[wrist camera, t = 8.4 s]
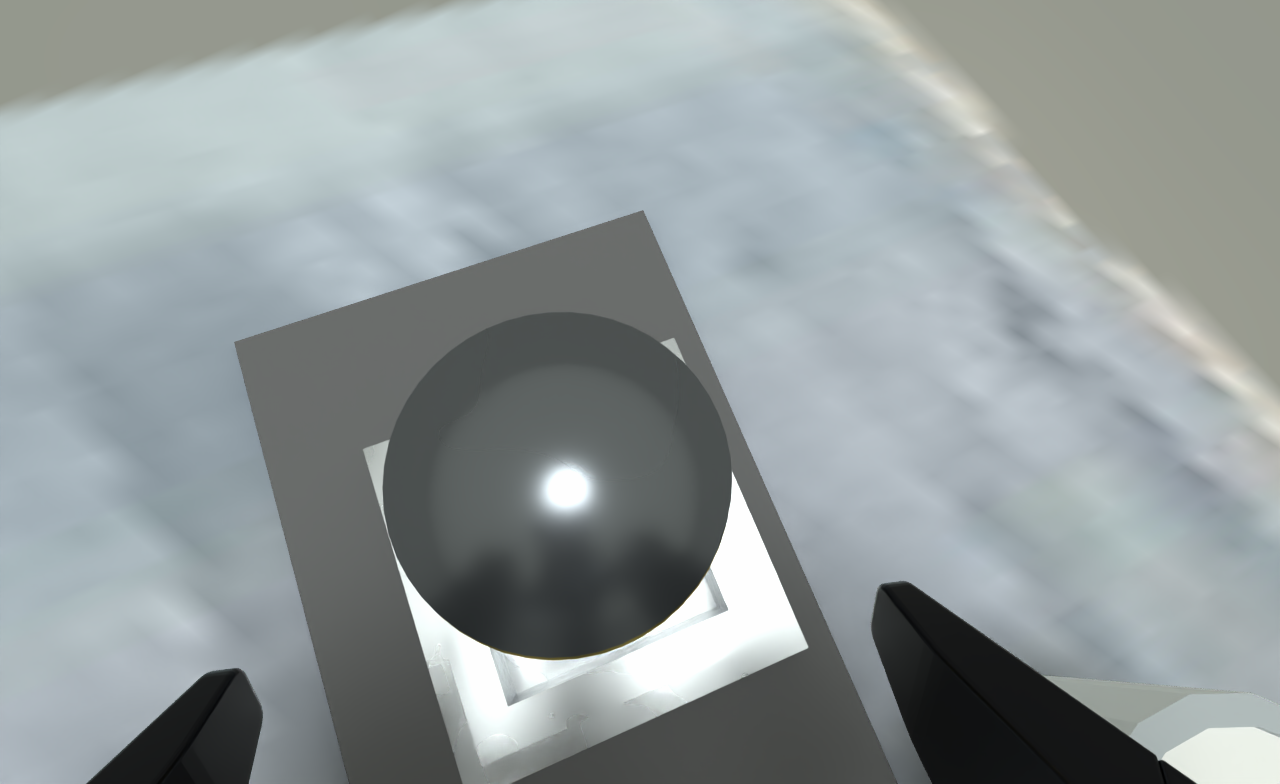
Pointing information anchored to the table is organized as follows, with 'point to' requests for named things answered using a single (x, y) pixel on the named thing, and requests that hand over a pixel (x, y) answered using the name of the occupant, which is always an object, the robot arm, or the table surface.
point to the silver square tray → (603, 661)
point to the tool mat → (368, 572)
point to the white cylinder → (1191, 727)
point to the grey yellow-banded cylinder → (557, 485)
